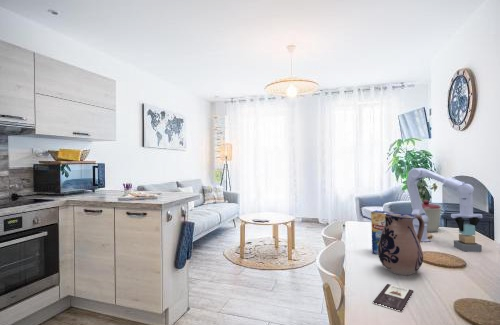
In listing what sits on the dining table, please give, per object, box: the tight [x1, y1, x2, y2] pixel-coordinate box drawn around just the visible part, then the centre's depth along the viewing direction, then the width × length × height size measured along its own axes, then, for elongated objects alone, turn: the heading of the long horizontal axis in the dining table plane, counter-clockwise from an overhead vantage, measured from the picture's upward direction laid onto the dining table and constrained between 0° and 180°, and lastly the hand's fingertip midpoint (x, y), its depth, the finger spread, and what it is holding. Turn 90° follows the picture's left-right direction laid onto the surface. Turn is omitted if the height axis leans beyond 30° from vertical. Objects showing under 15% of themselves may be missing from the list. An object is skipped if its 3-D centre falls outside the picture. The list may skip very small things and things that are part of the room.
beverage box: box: [370, 210, 398, 255], centre depth 143 cm, size 7×11×22 cm, turn 45°
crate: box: [453, 239, 483, 253], centre depth 148 cm, size 9×9×4 cm
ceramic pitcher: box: [378, 212, 424, 276], centre depth 121 cm, size 18×21×25 cm
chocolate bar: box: [372, 283, 414, 312], centre depth 98 cm, size 9×1×18 cm
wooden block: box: [458, 233, 476, 245], centre depth 148 cm, size 5×5×7 cm
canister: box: [410, 199, 443, 233], centre depth 189 cm, size 18×18×21 cm
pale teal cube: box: [458, 223, 476, 236], centre depth 148 cm, size 5×5×5 cm
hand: (466, 231), depth 148 cm, fingers closed on pale teal cube, 5 cm apart
